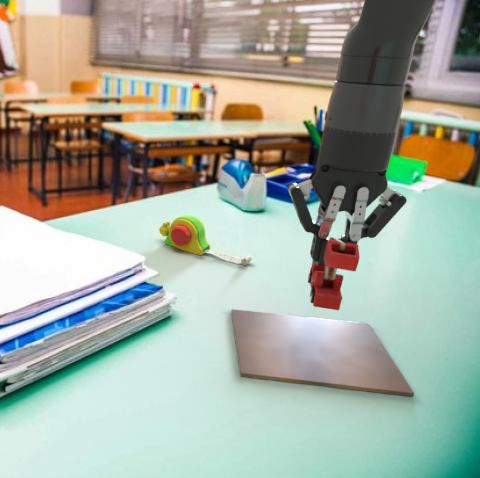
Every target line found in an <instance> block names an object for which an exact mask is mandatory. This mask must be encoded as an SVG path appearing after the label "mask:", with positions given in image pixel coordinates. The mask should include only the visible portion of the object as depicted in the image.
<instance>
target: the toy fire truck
mask: <svg viewBox="0 0 480 478" xmlns="http://www.w3.org/2000/svg"><path fill="white" fill-rule="evenodd" d="M328 239H329V240H328V241H327V245H326V250H325V254H324V265H323V266H317V265H316V264H315V262H314V261H313V260H312V261H311V267H310V269H309V273H308V275H307V276H308V277H307V283H308V284H309V286H310V290H309V291H310V292H309V297H310V301H309V302H310V304H312V306H313V307H314V308H321V309H327V310H332V311H333V310H334V311H340V308H341V304H342V300H343V295H342V291H341V288H342V286H343V281H344V275H343V274H339V273H337V272H338V269H339V270H343V271H349V272H357V268H358V266H359V263H360V262H359V261H360V249H359V244H358V243H357V244H352V243H344V242H342V241H341V237H338V238H336V237H332V236H330V237H329V238H328Z"/></svg>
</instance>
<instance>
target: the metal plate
mask: <svg viewBox="0 0 480 478" xmlns="http://www.w3.org/2000/svg"><path fill="white" fill-rule="evenodd" d="M230 313H231V320H232V326H233V327H232V328H233V333H234V338H235V346H236V347H235V348H236V354H237V359H238V366H239V373H240V377H243V378H251V379H252V378H253V379H262V380H270V381H277V382H288V383H295V384H303V385H304V384H305V385H313V386H321V387H328V388H329V387H330V388H337V389H346V390H355V391H361V392H362V391H363V392H370V393H379V394H389V395H397V396H405V397H414V395H415V392H414V390H413V388H411V386H410V385H409V383H408V382H407V380H406V378H405V377H404V375H403V374H402V372H401V371H400V370H399V368H398V366H397V364H396V363H395V361H394V360H393V358H392V357H391V355H390V354H389V352H388V350H387V349H386V348H385V346H384V345H383V343H382V341H381V340H380V338H379V337H378V335H377V334H376V332H375V330H374V329H373V327H372V326H371V324H370V323H368V322H358V321H349V320H340V319H329V318H321V317H320V318H319V317H310V316H301V315H300V316H299V315H291V314H282V313H280V314H279V313H271V312H261V311H253V310H241V309H233V308H231V310H230Z"/></svg>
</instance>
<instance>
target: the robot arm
mask: <svg viewBox="0 0 480 478" xmlns="http://www.w3.org/2000/svg"><path fill="white" fill-rule="evenodd" d="M435 3H436V0H364V2H363V5H362V8H361V11H360V16H359V18H358V20H357V22H356V23H355V24H354V25H353V26H352V27H351V28H350V29H349V30H348V31H347V32H346V34H345V36H344V39H343V42H342V46H341V49H340V55H339V60H338V66H337V70H336V74H335V75H336V76H335V81H334V85H333V87H332V91H331V94H330V96H329V100H328V104H327V110H326V112H325V115H324V125H323V131H322V135H321V140H320V146H319V152H318V154H317V155H318V156H317V162H316V166H315V168H314V170H313V171H312V172H311V174H310V176H309V179H306V180H304V181H301V182H299V183H296V182H290V183H289V184H288V185H287V191H288V193H289V196H290V199H291V201H292V204H293V207H294V210H295V212H296V215H297V218H298V221H299V223H300V225H301V227H302V228H303V230H304V231H305V232H306V233H310V234H312V236H313V237H312V241H311V247H310V251H309V254H310V255H309V256H310V258H311V259H312V261H314V262H315V264H316V265H317V266H323V265H324V254H325V250H326V245H327V241H328V240H329V239H330V238H328V237H329V235H330V233H331V230H332V227H333V224H334V223H335V222H336V219H337V216H338V213H341V212H344V217H345V223H344V234H342V235H341V236H340V238H341V241H342V242H344V243H352V244H357V245H358V242H359V241H360V240H361V239H365V238H369V239H374V238H376V237H377V236H378V235H379V234H380V233H381V231H383V229H384V228H385V227H386V226H387V225H388V224H389V223H390V222H391V221H392V219H393V218H394V217H395V216H396V215H397V213H399V211H400V210H401V209H402V208H403V206H405V205H406V203H407V200H408V199H407V197H406V196H405V195H403V194H402V193H401V192H398V191H397V190H394V189H392V188H391V187H389V186H388V185H389V183H388V179H387V171H388V169H389V167H390V166H389V165H390V161H391V157H392V153H393V149H394V145H395V141H396V137H397V133H398V129H399V124H400V120H401V116H402V113H403V107H404V100H405V99H404V98H405V91H406V85H407V81H408V78H409V73H410V69H411V64H412V61H413V56H414V50H415V45H416V43H417V40H418V38H419V37H420V36H419V35H420V34H421V32H422V30H423V29H424V26H425V25H426V23H427V21H428V18H429V17H430V14H431V12H432V9H433V8H434V5H435ZM311 190H313V191H314V193H315V195H316V197H317V199H318V200H319V206H318V208H317V216H316V219H315V220H313V218H312V215H311V213H310V210H309V207H308V204H307V201H308V200H310V197H311ZM377 199H378V205H377V206H376V207H375V208H374V209H373V210H372V212H371V213H369V215H368V216H367V217H366V211H367V209H368V207H369V206H370V205H371V204H372V203H373V202H374V201H376V200H377Z"/></svg>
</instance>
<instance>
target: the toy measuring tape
mask: <svg viewBox="0 0 480 478" xmlns="http://www.w3.org/2000/svg"><path fill="white" fill-rule="evenodd" d="M159 234H160V235H161V236H163V237H165V239H164V245H168V246H170V247H173V248H176V249H178V250H181V251H184V252H188V253H189V254H195V255H198V256H202V255H205V254H209V255H212V256H214V257H216V258H218V259H220V260H222V261H224V262H227V263H233V264H235V265H241V264H242V266H246V265H248V264H249V263H251V261H252V260H253V258H252V256H250V255H246V256H244V257H242V258H240V257H238V256H235V255H231V254H226V253H223V252H219V251H216V250H211V244H210V243H209V242H208V240H207V237H206V227H205V225H204V223H203V221H202V220H201V219H200V218H198V217H196V215H192V214H184V215H181V216H179V217H177V218H175V219H173V220H172V222H170V221H169V220H167V221H166V222H163V223H162V225H160V226H159Z"/></svg>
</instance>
